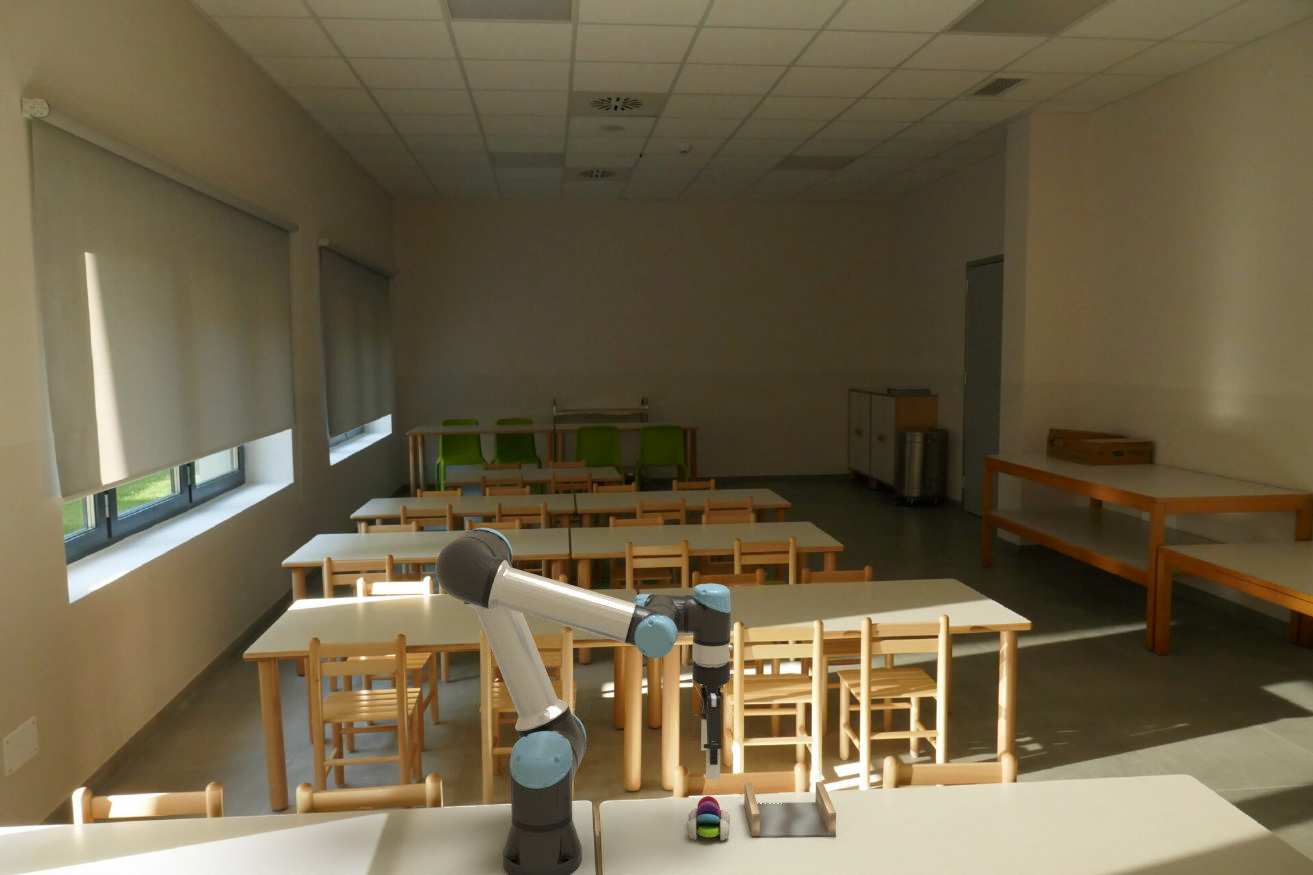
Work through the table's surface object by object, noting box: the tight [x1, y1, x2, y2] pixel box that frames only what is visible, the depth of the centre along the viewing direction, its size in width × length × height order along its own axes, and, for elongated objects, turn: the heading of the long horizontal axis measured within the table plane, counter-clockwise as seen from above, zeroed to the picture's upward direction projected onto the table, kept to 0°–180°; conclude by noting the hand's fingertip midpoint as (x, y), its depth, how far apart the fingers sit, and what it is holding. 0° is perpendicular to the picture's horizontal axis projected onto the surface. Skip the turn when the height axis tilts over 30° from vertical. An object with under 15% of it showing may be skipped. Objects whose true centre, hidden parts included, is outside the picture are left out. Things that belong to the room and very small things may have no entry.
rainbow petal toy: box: [686, 795, 731, 841], centre depth 191 cm, size 8×10×7 cm
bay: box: [743, 781, 837, 838], centre depth 196 cm, size 17×14×5 cm
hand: (710, 763), depth 190 cm, fingers open, 13 cm apart
